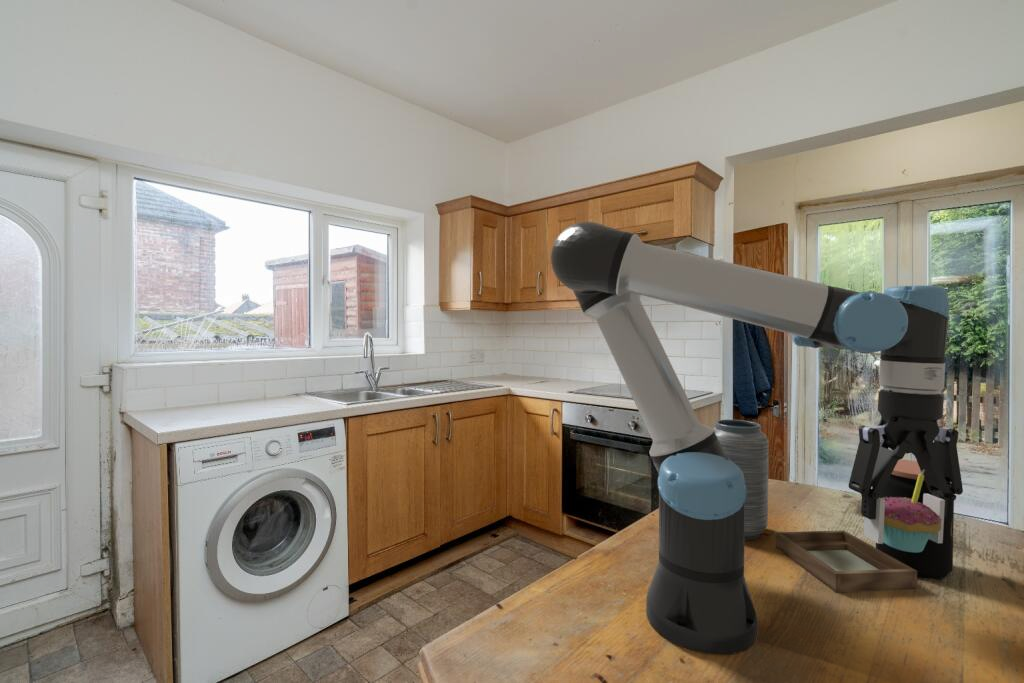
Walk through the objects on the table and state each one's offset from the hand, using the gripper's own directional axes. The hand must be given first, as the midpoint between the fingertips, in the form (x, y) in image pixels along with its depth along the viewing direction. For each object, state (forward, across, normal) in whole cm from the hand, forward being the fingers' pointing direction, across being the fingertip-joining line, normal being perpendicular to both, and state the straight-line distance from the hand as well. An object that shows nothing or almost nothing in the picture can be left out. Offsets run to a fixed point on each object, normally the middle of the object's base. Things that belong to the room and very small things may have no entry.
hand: (902, 539), depth 72 cm
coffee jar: (+11, +14, +13) cm, 22 cm away
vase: (+12, -9, +30) cm, 33 cm away
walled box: (+11, +1, +14) cm, 18 cm away
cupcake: (+1, 0, 0) cm, 1 cm away
